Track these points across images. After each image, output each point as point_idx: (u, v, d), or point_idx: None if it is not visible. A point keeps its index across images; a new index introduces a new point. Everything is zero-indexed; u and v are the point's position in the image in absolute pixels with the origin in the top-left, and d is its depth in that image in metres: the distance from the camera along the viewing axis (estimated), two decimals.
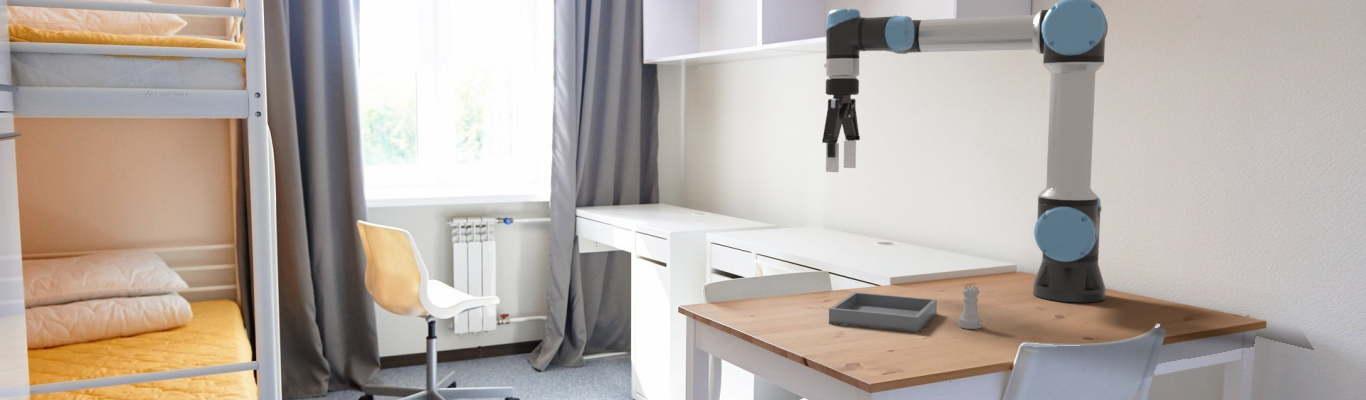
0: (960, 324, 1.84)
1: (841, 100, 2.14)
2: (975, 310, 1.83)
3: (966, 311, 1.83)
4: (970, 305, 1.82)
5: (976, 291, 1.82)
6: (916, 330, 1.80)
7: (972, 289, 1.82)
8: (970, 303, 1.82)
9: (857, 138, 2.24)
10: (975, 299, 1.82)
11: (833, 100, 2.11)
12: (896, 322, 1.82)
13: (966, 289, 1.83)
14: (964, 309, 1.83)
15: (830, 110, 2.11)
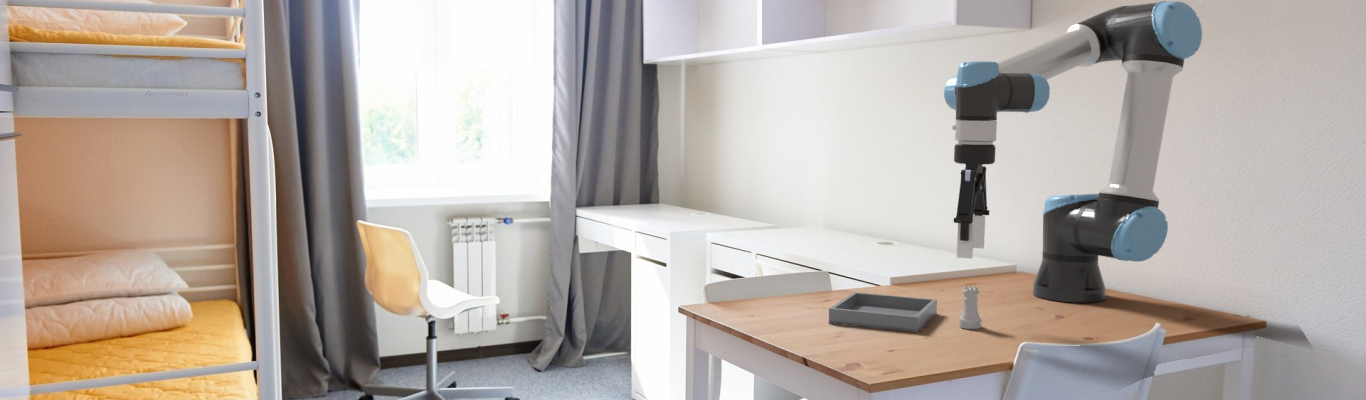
0: (960, 324, 1.84)
1: (976, 171, 1.77)
2: (975, 310, 1.83)
3: (966, 311, 1.83)
4: (970, 305, 1.82)
5: (976, 291, 1.82)
6: (916, 330, 1.80)
7: (972, 289, 1.82)
8: (970, 303, 1.82)
9: (986, 213, 1.88)
10: (975, 299, 1.82)
11: (968, 172, 1.75)
12: (896, 322, 1.82)
13: (966, 289, 1.83)
14: (964, 309, 1.83)
15: (964, 184, 1.75)
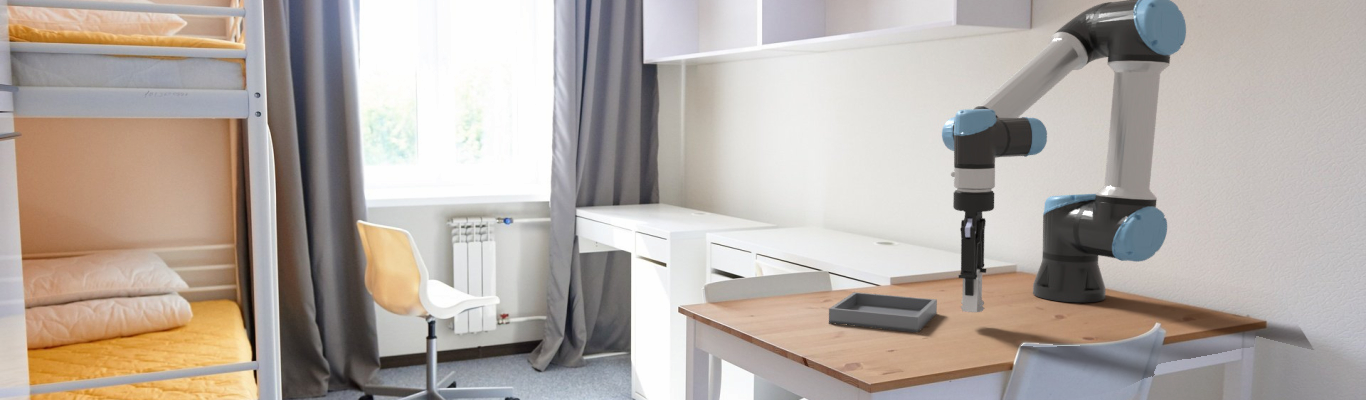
0: None
1: (975, 220, 1.78)
2: None
3: None
4: None
5: (978, 274, 1.82)
6: (916, 330, 1.80)
7: None
8: None
9: (983, 270, 1.85)
10: None
11: (967, 230, 1.76)
12: (896, 322, 1.82)
13: None
14: None
15: (965, 240, 1.77)
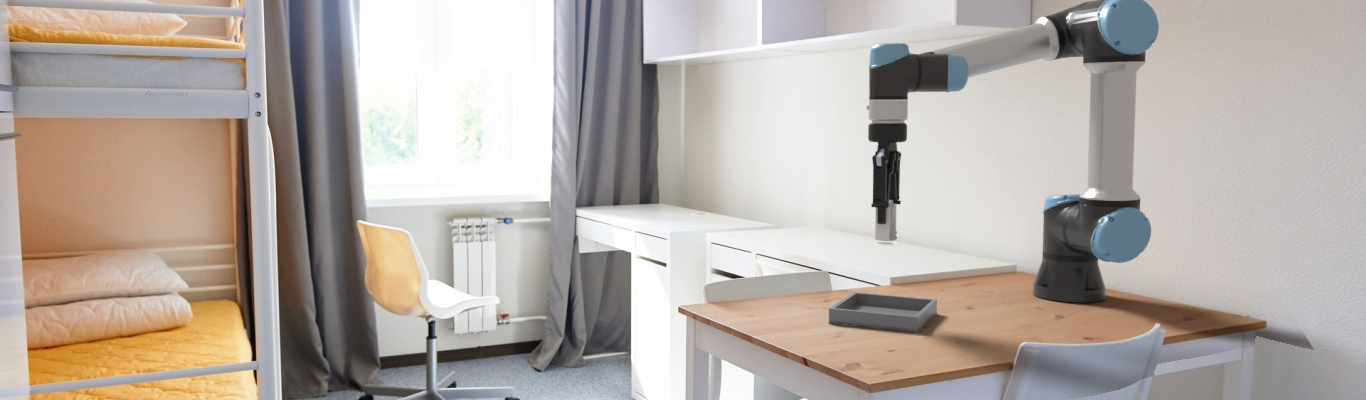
0: None
1: (887, 150, 1.84)
2: (890, 222, 1.88)
3: None
4: None
5: (891, 203, 1.88)
6: (916, 330, 1.80)
7: None
8: None
9: (898, 201, 1.91)
10: (890, 211, 1.88)
11: (878, 158, 1.82)
12: (896, 322, 1.82)
13: None
14: None
15: (876, 169, 1.83)
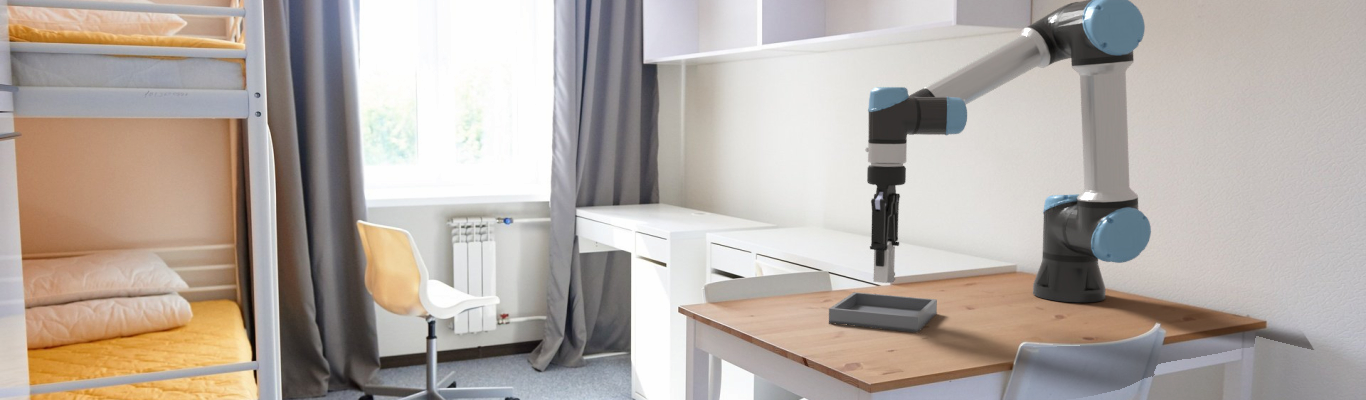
0: None
1: (885, 194, 1.85)
2: (889, 264, 1.89)
3: None
4: None
5: (890, 245, 1.89)
6: (916, 330, 1.80)
7: None
8: None
9: (896, 243, 1.92)
10: (889, 253, 1.89)
11: (877, 202, 1.83)
12: (896, 322, 1.82)
13: None
14: None
15: (875, 212, 1.84)
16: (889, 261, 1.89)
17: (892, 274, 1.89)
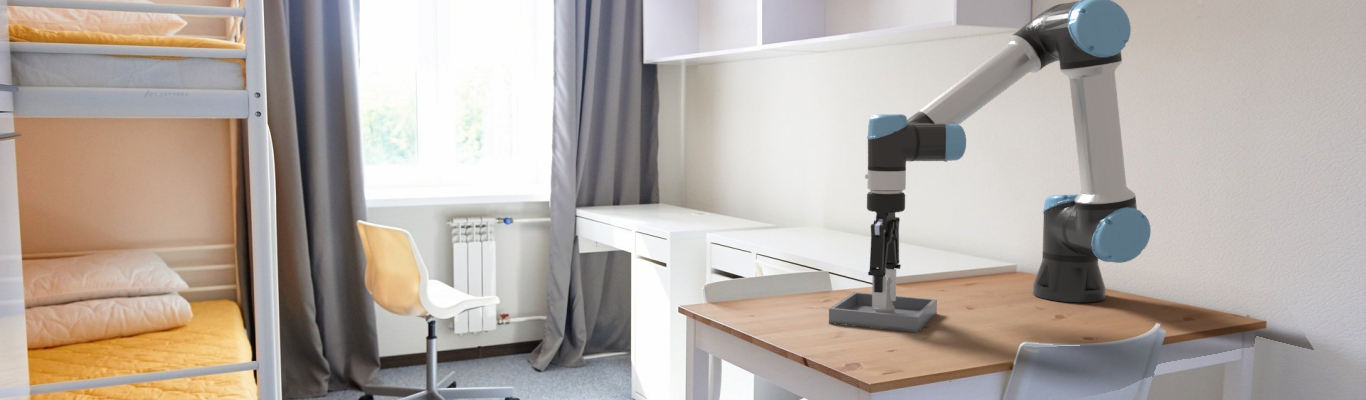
0: None
1: (885, 220, 1.86)
2: (888, 299, 1.90)
3: None
4: None
5: (889, 280, 1.90)
6: (916, 330, 1.80)
7: None
8: None
9: (898, 266, 1.94)
10: (888, 288, 1.90)
11: (877, 227, 1.83)
12: (896, 322, 1.82)
13: None
14: None
15: (874, 238, 1.84)
16: (889, 296, 1.90)
17: (892, 309, 1.90)
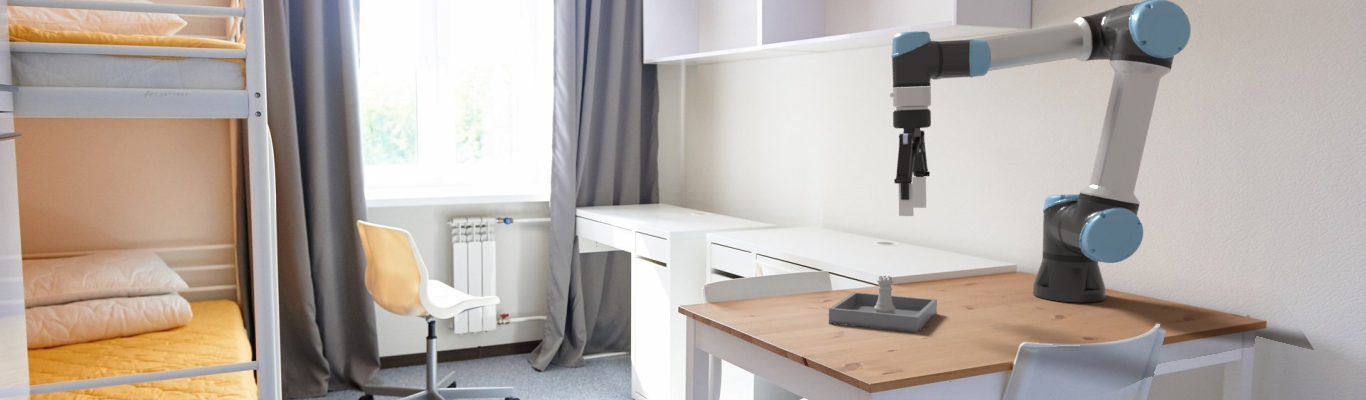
0: None
1: (913, 134, 1.89)
2: (889, 299, 1.90)
3: (880, 300, 1.90)
4: (884, 294, 1.90)
5: (890, 281, 1.90)
6: (916, 330, 1.80)
7: (886, 279, 1.89)
8: (884, 293, 1.90)
9: (927, 174, 2.00)
10: (889, 288, 1.90)
11: (905, 135, 1.87)
12: (896, 322, 1.82)
13: (880, 279, 1.90)
14: (879, 298, 1.91)
15: (902, 146, 1.87)
16: (889, 296, 1.90)
17: (892, 309, 1.90)
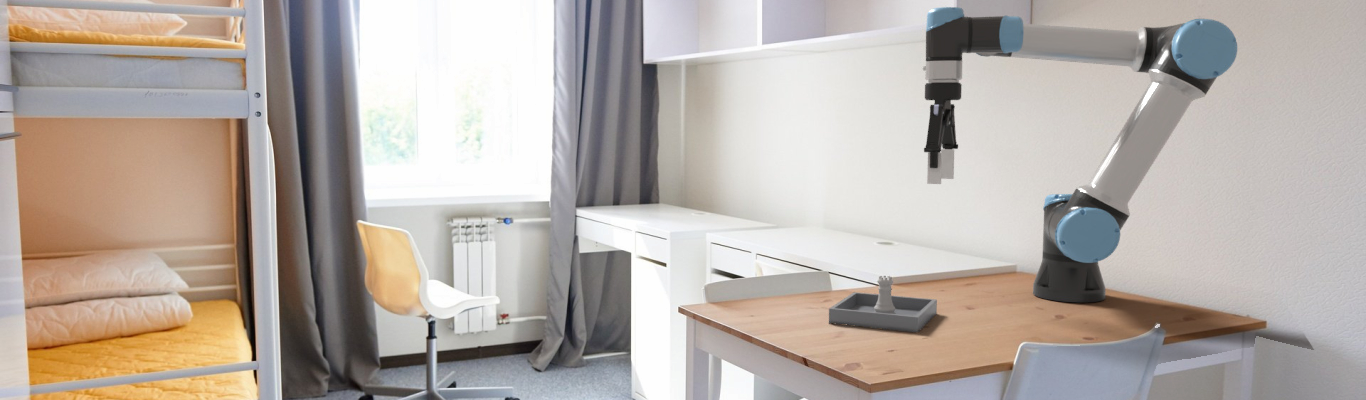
0: None
1: (943, 106, 1.97)
2: (889, 299, 1.90)
3: (880, 300, 1.90)
4: (884, 294, 1.90)
5: (890, 281, 1.90)
6: (916, 330, 1.80)
7: (886, 279, 1.89)
8: (884, 293, 1.90)
9: (955, 147, 2.08)
10: (889, 288, 1.90)
11: (936, 106, 1.95)
12: (896, 322, 1.82)
13: (880, 279, 1.90)
14: (879, 298, 1.91)
15: (933, 117, 1.95)
16: (889, 296, 1.90)
17: (892, 309, 1.90)
